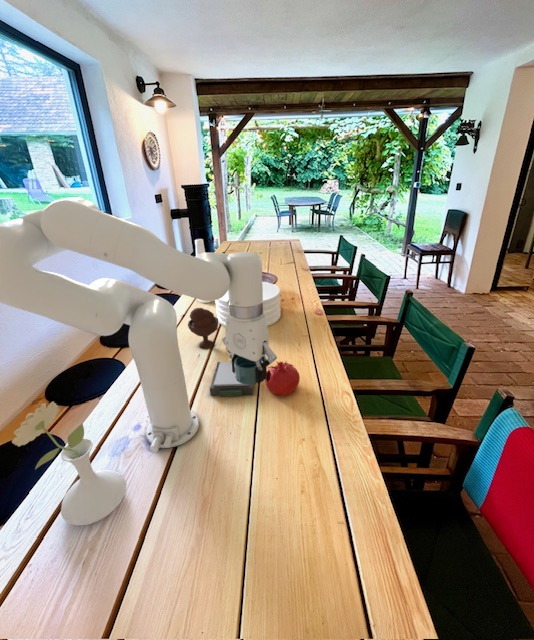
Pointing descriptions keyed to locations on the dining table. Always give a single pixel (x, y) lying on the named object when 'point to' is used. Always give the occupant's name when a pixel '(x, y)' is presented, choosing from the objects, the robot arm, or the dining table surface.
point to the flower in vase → (93, 486)
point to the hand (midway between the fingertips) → (249, 375)
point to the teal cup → (245, 370)
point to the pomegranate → (282, 379)
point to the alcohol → (200, 250)
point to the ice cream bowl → (203, 325)
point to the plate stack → (269, 304)
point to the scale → (228, 382)
